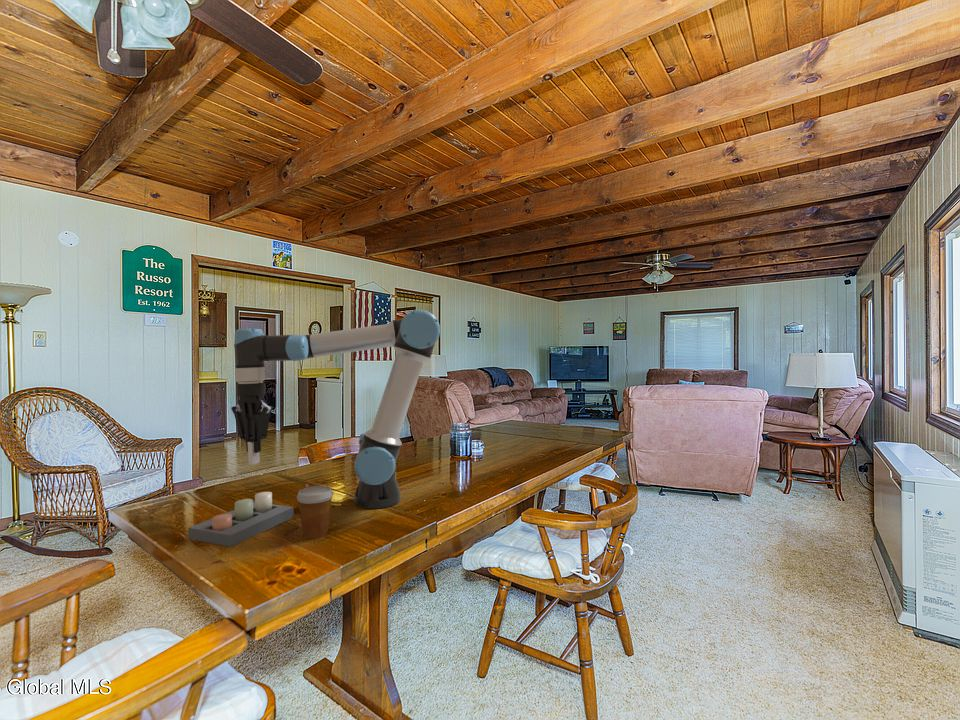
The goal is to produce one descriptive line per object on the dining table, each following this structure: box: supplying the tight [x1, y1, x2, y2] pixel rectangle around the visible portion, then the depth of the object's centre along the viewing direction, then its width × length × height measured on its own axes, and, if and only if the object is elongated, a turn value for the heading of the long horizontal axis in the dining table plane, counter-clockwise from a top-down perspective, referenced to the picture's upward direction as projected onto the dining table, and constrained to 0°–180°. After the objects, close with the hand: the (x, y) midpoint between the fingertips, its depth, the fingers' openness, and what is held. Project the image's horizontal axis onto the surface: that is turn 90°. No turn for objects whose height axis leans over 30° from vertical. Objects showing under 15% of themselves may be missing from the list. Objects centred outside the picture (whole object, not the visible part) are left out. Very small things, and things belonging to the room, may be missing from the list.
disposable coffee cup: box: [296, 485, 334, 540], centre depth 122 cm, size 10×10×12 cm
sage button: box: [234, 498, 254, 522], centre depth 127 cm, size 5×5×5 cm
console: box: [187, 501, 294, 548], centre depth 127 cm, size 15×22×3 cm
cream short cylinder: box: [254, 491, 273, 513], centre depth 134 cm, size 5×5×5 cm
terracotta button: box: [211, 513, 232, 531], centre depth 121 cm, size 5×5×5 cm
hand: (254, 463), depth 130 cm, fingers closed
